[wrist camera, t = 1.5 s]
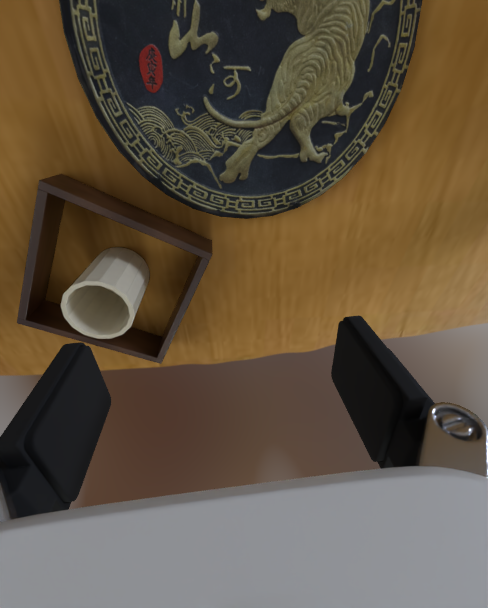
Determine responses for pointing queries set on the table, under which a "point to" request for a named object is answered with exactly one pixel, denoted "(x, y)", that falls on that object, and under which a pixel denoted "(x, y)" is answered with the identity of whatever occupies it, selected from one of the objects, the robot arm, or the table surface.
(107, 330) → the cup
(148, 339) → the wooden box
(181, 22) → the decorative plate
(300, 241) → the table surface
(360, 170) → the table surface
